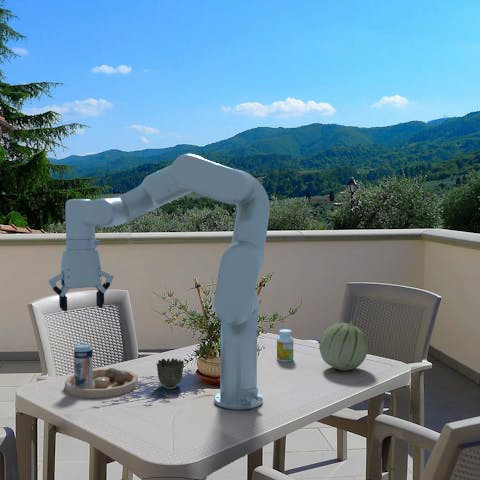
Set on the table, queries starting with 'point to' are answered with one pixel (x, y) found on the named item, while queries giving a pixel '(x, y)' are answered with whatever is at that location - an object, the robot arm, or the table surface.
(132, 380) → the saucer
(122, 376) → the bead
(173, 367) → the cup
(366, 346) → the cantaloupe
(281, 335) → the supplement bottle
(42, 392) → the table surface
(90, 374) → the beer can
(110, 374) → the bead
